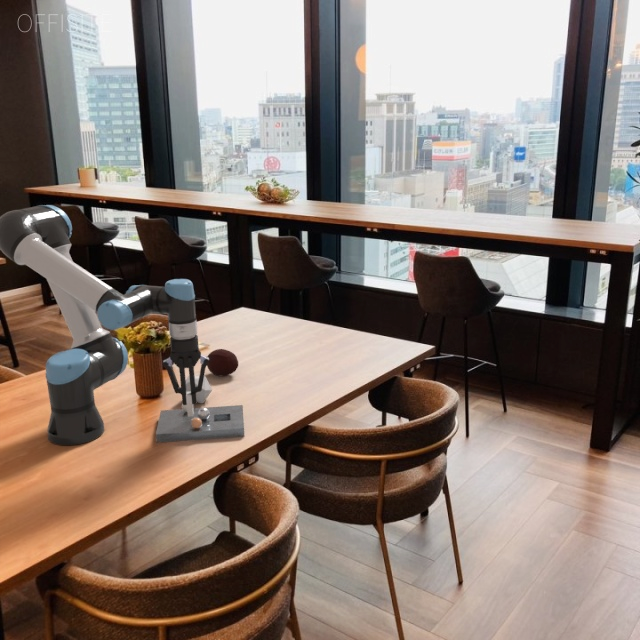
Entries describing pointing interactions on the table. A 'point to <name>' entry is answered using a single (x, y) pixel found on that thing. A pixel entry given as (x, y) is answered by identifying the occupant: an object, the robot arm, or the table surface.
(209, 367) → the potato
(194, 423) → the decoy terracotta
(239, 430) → the grey board with recess
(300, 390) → the table surface
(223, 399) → the table surface
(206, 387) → the die
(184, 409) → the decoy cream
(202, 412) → the steel ball
